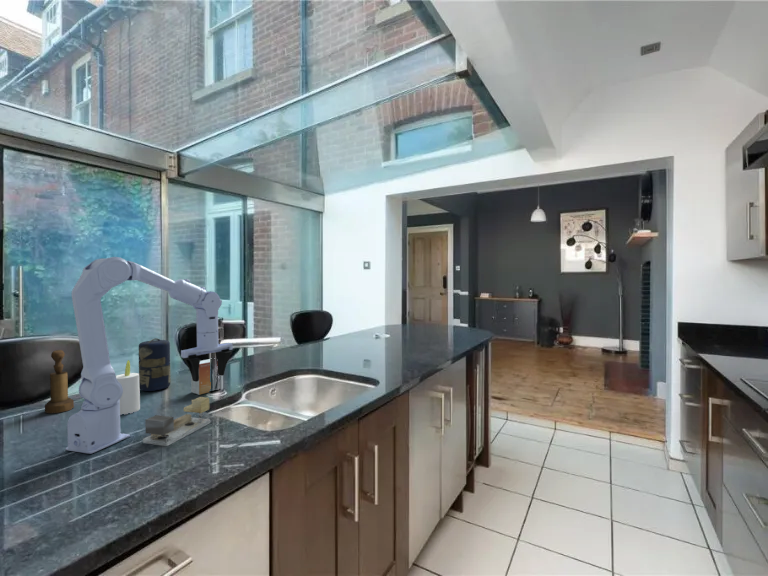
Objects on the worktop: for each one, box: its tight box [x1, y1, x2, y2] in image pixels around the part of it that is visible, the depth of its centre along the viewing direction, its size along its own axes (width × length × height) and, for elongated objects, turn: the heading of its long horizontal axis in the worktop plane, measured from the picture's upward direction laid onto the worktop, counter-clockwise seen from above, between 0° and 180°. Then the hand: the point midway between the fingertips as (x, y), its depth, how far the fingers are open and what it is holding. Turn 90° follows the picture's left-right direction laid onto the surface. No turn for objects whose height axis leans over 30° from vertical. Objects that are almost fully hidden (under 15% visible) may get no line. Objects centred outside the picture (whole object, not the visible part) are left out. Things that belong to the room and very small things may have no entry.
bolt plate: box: [142, 416, 211, 447], centre depth 93 cm, size 14×7×1 cm, turn 165°
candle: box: [116, 359, 141, 416], centre depth 108 cm, size 6×6×15 cm
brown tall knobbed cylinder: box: [44, 349, 75, 414], centre depth 110 cm, size 7×6×18 cm
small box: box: [190, 358, 211, 396], centre depth 127 cm, size 8×6×10 cm
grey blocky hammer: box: [144, 413, 192, 437], centre depth 92 cm, size 12×5×4 cm, turn 165°
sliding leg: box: [183, 396, 210, 418], centre depth 99 cm, size 3×6×5 cm, turn 75°
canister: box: [138, 337, 172, 392], centre depth 130 cm, size 10×10×18 cm
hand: (208, 377), depth 108 cm, fingers open, 7 cm apart
